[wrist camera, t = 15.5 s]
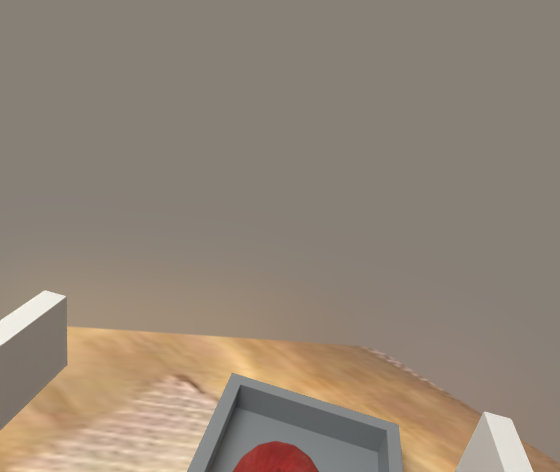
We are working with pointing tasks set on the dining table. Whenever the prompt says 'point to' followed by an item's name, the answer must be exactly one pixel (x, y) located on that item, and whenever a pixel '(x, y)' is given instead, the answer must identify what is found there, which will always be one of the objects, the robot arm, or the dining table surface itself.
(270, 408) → the tray
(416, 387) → the dining table surface
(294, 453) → the onion
